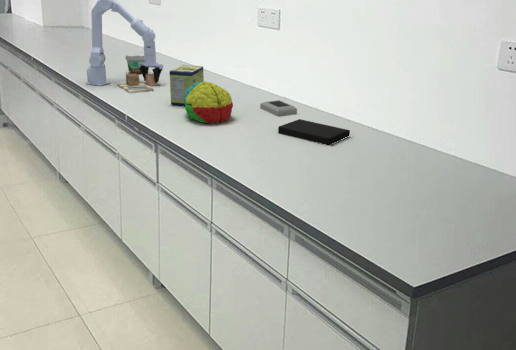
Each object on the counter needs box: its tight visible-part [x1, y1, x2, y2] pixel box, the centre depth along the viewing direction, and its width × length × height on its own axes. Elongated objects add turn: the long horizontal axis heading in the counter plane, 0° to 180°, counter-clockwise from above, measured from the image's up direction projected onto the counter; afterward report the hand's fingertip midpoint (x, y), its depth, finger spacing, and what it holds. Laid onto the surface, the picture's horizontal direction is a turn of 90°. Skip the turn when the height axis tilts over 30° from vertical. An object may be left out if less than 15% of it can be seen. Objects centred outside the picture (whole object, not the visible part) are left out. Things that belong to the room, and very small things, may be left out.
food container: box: [125, 54, 145, 76], centre depth 330 cm, size 12×6×10 cm, turn 105°
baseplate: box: [116, 73, 154, 94], centre depth 299 cm, size 20×12×6 cm, turn 30°
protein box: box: [169, 64, 205, 107], centre depth 271 cm, size 10×16×16 cm
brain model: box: [184, 80, 234, 124], centre depth 248 cm, size 24×19×15 cm
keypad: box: [259, 99, 298, 117], centre depth 261 cm, size 10×4×15 cm
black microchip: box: [277, 118, 351, 146], centre depth 229 cm, size 14×23×3 cm, turn 51°
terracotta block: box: [145, 72, 158, 86], centre depth 307 cm, size 4×4×5 cm
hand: (151, 81), depth 308 cm, fingers closed on terracotta block, 6 cm apart
